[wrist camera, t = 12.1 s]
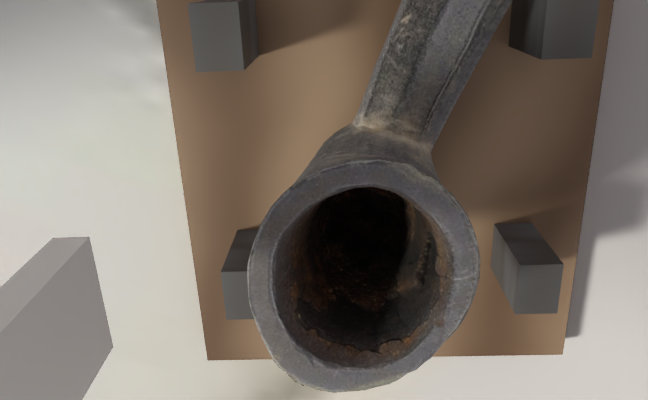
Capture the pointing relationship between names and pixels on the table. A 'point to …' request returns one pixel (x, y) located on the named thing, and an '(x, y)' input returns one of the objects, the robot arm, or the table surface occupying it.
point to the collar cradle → (447, 153)
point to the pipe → (377, 219)
